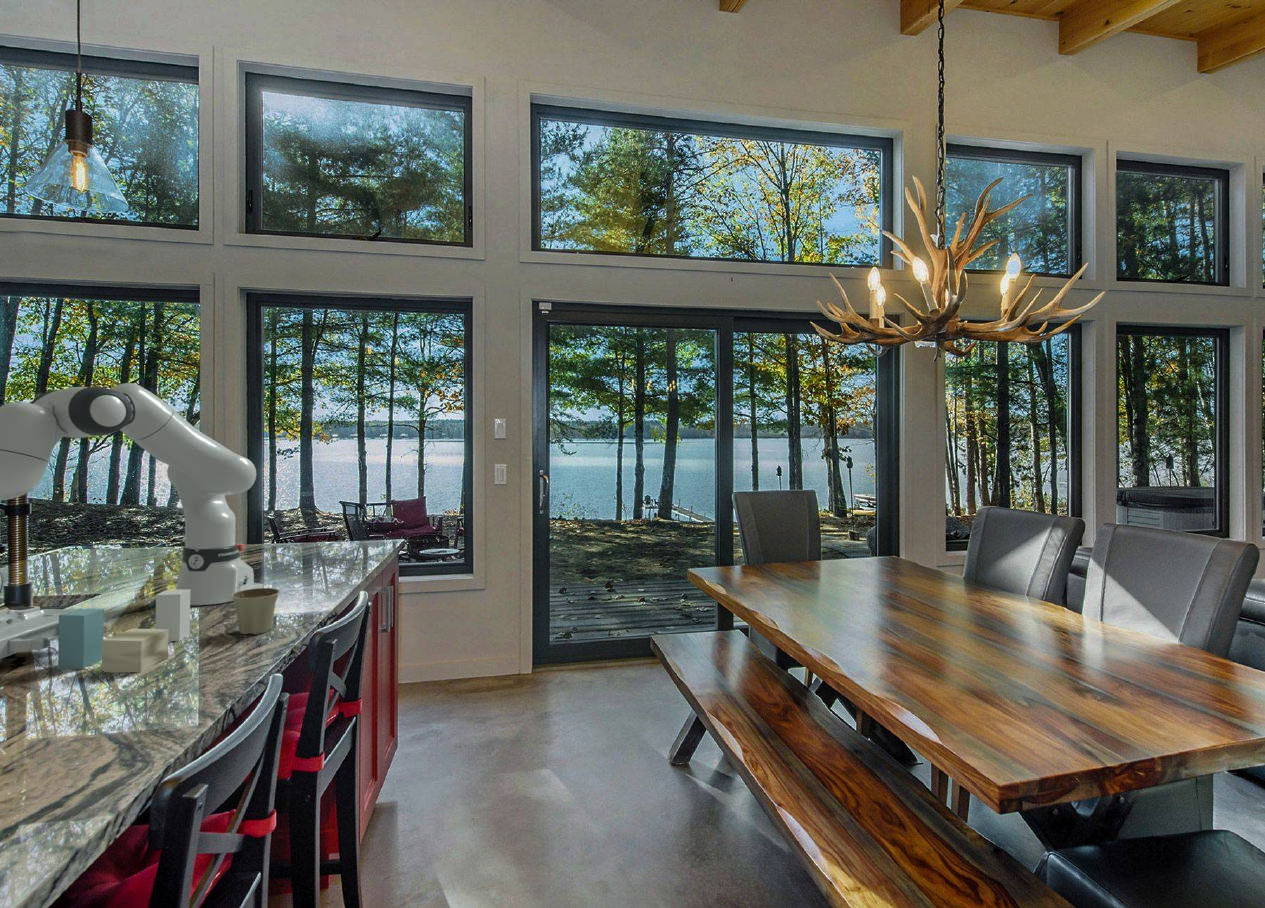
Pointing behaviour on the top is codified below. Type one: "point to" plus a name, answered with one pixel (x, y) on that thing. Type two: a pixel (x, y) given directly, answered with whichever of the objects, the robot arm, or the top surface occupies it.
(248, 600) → the flower pot
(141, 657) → the birch block
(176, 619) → the white block
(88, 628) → the teal block
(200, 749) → the top surface
